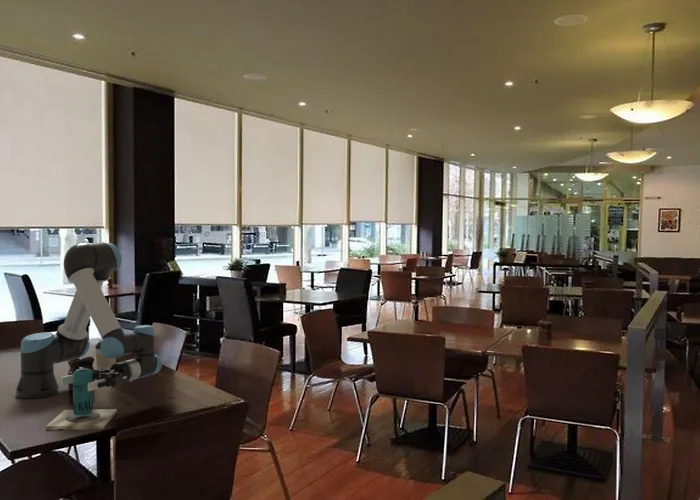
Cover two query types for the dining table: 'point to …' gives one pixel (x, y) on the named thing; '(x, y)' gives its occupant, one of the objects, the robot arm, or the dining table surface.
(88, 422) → the birch board
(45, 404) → the dining table surface
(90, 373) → the beverage bottle
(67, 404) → the dining table surface
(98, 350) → the coffee cup
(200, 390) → the dining table surface
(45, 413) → the dining table surface
